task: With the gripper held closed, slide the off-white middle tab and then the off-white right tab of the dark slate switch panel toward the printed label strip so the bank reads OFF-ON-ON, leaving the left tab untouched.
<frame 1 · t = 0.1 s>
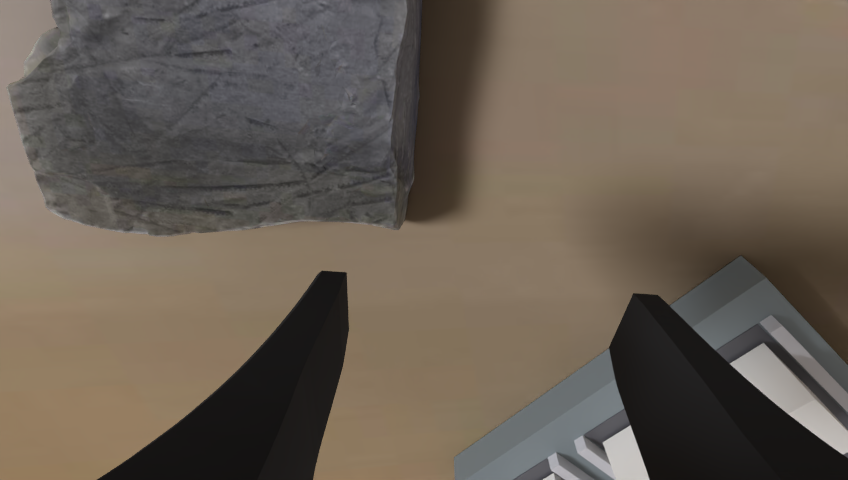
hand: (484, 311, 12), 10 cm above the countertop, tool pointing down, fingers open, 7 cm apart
tab middle: (661, 475, 25), point 4 cm above the countertop, slide at 0.0 cm
switch panel: (673, 446, 29), on the countertop
grey rock: (249, 44, 20), on the countertop
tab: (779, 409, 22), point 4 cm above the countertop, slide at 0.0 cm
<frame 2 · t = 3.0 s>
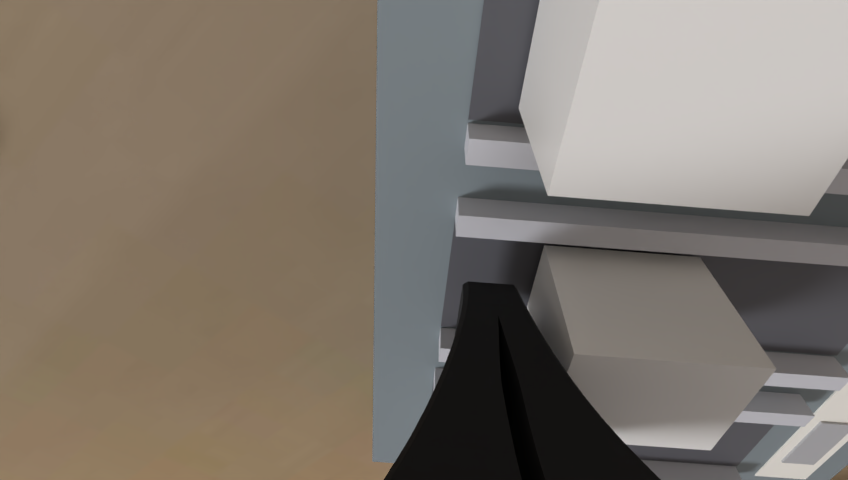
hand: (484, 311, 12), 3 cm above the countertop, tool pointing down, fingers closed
tab middle: (624, 343, 12), point 4 cm above the countertop, slide at 1.3 cm, touching gripper
switch panel: (671, 251, 15), on the countertop
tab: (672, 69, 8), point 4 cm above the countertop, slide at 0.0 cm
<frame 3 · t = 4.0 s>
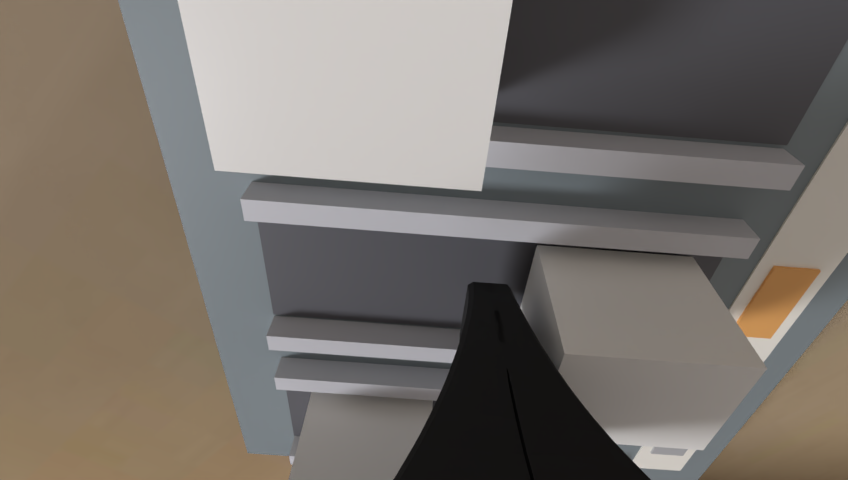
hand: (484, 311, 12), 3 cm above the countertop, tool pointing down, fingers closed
tab middle: (616, 343, 12), point 4 cm above the countertop, slide at 6.1 cm, touching gripper
switch panel: (511, 239, 15), on the countertop
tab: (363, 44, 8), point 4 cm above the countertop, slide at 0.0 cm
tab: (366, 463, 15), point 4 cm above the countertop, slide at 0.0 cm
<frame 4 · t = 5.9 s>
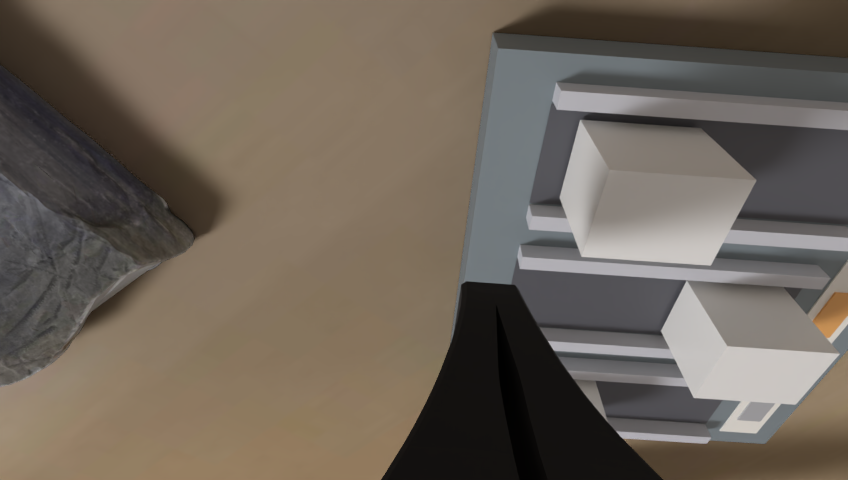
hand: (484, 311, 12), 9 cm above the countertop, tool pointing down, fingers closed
tab middle: (739, 341, 19), point 4 cm above the countertop, slide at 6.1 cm
switch panel: (653, 273, 22), on the countertop
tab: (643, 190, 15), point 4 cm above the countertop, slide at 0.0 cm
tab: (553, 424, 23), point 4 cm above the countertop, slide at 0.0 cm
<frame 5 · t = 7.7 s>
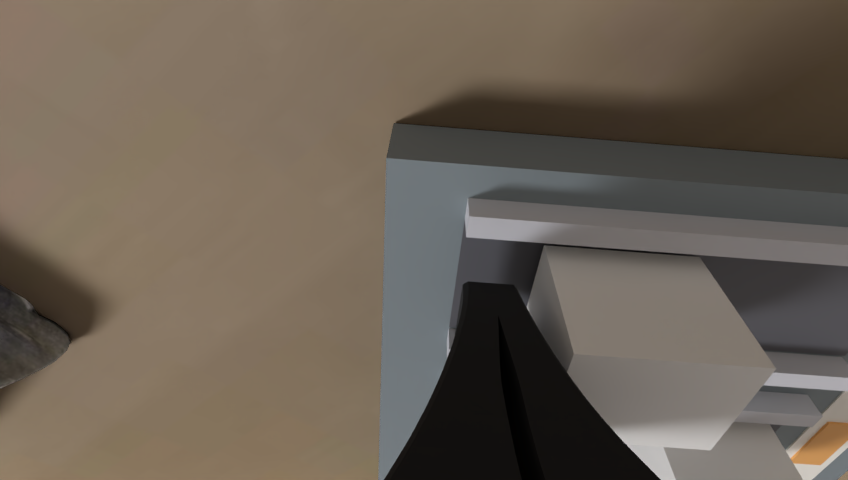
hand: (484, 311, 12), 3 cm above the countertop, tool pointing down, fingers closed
switch panel: (614, 381, 19), on the countertop
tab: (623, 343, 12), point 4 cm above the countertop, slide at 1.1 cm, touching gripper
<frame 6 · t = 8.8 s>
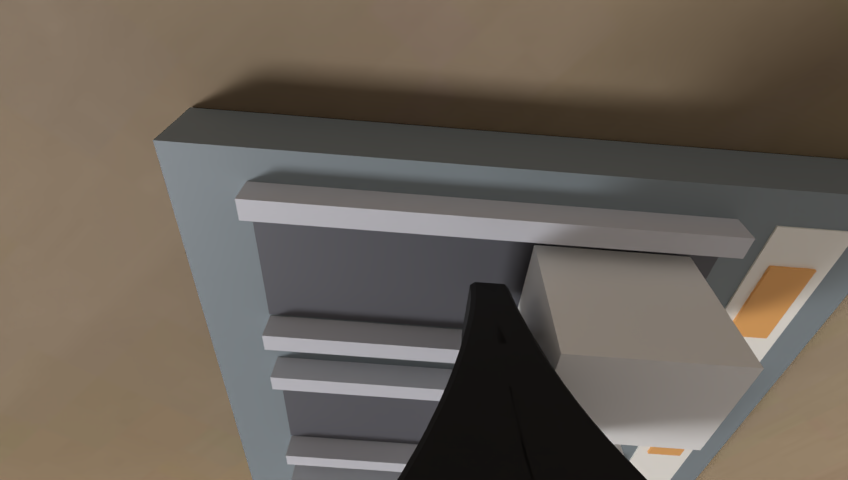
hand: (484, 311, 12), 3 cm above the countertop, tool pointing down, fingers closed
tab middle: (548, 476, 16), point 4 cm above the countertop, slide at 6.1 cm
switch panel: (478, 372, 19), on the countertop
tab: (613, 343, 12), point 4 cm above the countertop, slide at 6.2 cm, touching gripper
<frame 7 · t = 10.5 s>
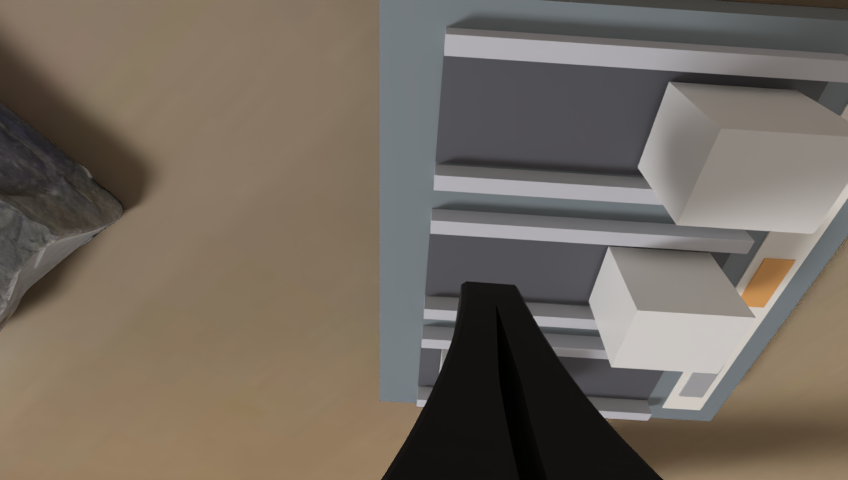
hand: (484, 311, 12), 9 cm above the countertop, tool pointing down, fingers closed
tab middle: (661, 308, 18), point 4 cm above the countertop, slide at 6.1 cm
switch panel: (584, 242, 21), on the countertop
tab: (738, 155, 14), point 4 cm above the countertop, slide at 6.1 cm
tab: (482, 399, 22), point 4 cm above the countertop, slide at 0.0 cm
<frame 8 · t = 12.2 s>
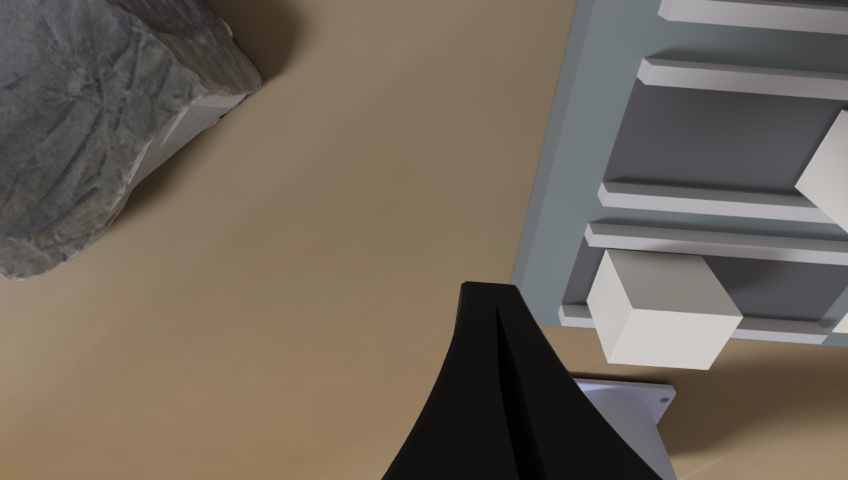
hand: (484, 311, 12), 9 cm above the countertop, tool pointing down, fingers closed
switch panel: (780, 125, 19), on the countertop
grey rock: (6, 24, 18), on the countertop
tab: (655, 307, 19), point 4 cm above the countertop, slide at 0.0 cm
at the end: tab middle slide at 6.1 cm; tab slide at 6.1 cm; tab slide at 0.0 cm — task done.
